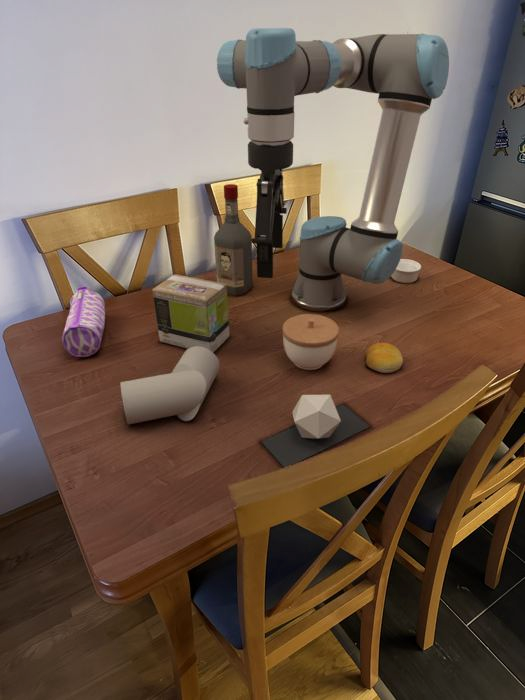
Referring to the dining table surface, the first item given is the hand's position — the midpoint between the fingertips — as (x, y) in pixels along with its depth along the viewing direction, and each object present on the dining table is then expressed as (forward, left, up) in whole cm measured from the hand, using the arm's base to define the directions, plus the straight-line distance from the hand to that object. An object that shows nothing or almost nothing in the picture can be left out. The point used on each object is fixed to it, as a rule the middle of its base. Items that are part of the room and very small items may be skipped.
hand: (270, 261), depth 92 cm
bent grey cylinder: (+11, -19, -29) cm, 36 cm away
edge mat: (+15, +11, -29) cm, 34 cm away
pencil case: (-11, -48, -29) cm, 57 cm away
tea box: (-14, -21, -29) cm, 38 cm away
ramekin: (-58, +33, -29) cm, 73 cm away
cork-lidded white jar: (-9, +8, -29) cm, 31 cm away
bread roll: (-11, +25, -29) cm, 39 cm away
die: (+15, +11, -29) cm, 34 cm away
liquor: (-43, -17, -29) cm, 55 cm away
